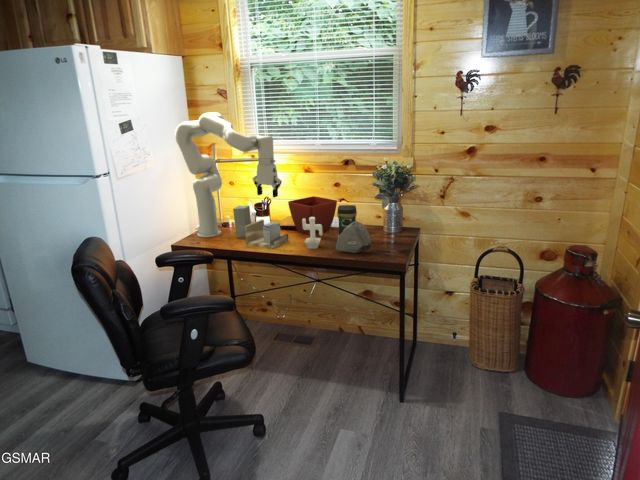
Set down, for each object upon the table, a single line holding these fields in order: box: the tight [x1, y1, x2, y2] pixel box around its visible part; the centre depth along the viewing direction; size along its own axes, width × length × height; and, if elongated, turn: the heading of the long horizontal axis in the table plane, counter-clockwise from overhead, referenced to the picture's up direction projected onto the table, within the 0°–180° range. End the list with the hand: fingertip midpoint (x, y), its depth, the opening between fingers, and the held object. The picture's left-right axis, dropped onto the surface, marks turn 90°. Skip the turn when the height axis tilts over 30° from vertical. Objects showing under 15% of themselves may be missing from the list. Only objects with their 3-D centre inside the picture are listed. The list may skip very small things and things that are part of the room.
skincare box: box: [232, 205, 252, 239], centre depth 246 cm, size 8×7×16 cm
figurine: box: [302, 217, 323, 250], centre depth 223 cm, size 7×9×15 cm
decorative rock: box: [335, 220, 372, 254], centre depth 214 cm, size 16×7×15 cm, turn 74°
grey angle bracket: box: [245, 219, 289, 249], centre depth 234 cm, size 16×14×10 cm
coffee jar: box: [336, 204, 358, 238], centre depth 230 cm, size 10×8×19 cm
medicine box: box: [263, 221, 282, 243], centre depth 232 cm, size 8×4×9 cm, turn 143°
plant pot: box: [287, 195, 338, 236], centre depth 249 cm, size 19×19×17 cm
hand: (267, 195), depth 233 cm, fingers open, 9 cm apart
